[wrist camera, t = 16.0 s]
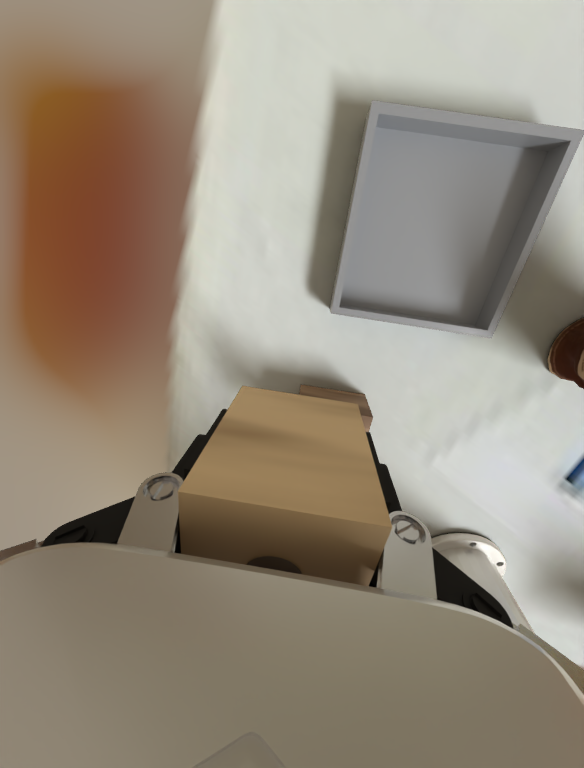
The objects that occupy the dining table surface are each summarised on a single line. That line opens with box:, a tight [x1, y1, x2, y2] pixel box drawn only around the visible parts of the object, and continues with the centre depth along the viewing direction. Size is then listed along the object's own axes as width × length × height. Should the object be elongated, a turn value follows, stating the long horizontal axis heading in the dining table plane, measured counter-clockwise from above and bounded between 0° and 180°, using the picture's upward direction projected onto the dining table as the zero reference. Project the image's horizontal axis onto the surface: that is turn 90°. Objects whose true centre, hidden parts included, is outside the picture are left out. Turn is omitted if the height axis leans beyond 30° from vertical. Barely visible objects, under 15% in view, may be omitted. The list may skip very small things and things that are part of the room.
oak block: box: [178, 386, 392, 586], centre depth 10 cm, size 5×5×6 cm
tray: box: [330, 100, 584, 338], centre depth 22 cm, size 14×14×3 cm
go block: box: [299, 385, 373, 432], centre depth 29 cm, size 7×7×5 cm
